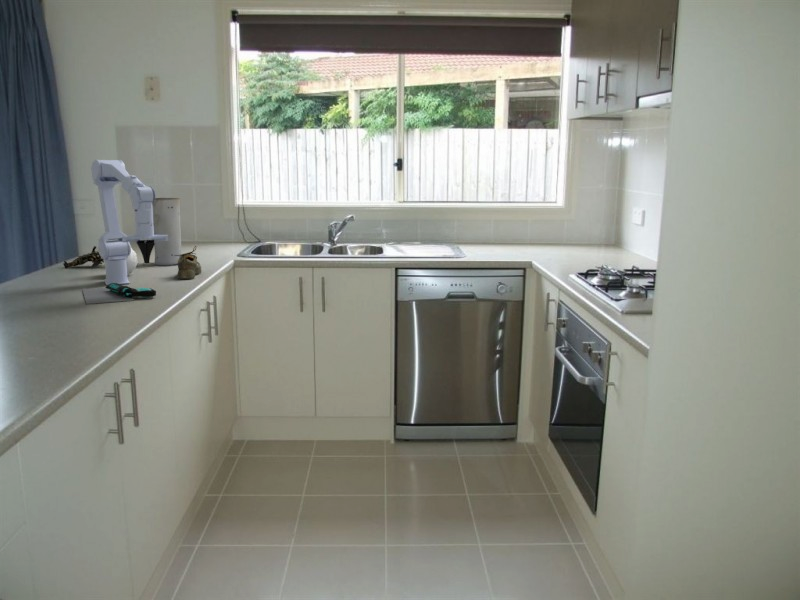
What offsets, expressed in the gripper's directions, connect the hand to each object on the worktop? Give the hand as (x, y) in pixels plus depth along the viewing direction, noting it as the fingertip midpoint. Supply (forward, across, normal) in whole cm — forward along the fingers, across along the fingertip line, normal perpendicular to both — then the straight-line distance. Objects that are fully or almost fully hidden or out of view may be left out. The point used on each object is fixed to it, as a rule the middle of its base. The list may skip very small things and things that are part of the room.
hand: (146, 262), depth 228 cm
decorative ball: (+11, -5, +37) cm, 39 cm away
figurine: (+11, -16, +63) cm, 66 cm away
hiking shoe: (+11, +18, +29) cm, 36 cm away
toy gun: (+9, -4, 0) cm, 9 cm away
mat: (+10, -13, 0) cm, 17 cm away
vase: (+11, +15, +60) cm, 63 cm away
